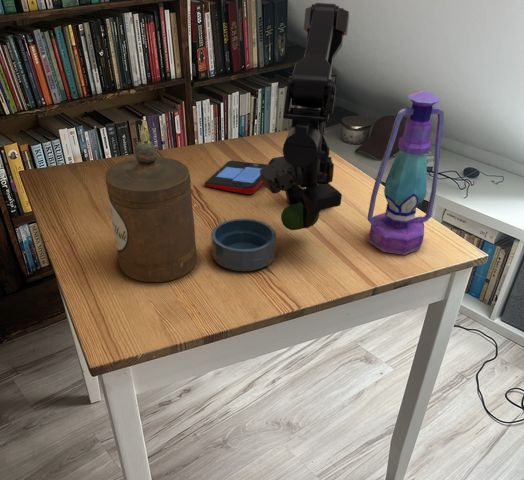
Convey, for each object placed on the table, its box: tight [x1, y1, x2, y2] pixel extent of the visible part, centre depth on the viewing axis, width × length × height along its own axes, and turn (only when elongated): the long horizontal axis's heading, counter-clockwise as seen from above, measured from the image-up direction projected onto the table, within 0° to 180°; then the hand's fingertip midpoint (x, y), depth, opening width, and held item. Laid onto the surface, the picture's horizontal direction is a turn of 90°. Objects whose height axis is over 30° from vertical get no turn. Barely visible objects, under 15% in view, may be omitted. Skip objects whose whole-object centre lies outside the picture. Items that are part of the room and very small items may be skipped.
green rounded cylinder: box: [280, 203, 320, 231], centre depth 112 cm, size 8×5×5 cm, turn 116°
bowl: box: [210, 218, 277, 272], centre depth 110 cm, size 12×12×5 cm
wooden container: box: [104, 149, 197, 283], centre depth 102 cm, size 15×15×22 cm
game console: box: [204, 160, 268, 195], centre depth 137 cm, size 14×13×2 cm
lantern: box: [366, 90, 445, 255], centre depth 108 cm, size 13×12×30 cm
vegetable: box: [134, 119, 157, 158], centre depth 117 cm, size 4×4×20 cm
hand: (300, 221), depth 113 cm, fingers closed on green rounded cylinder, 5 cm apart
